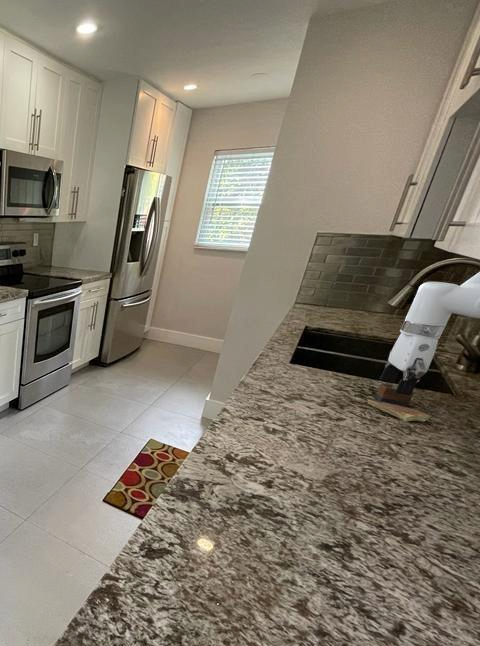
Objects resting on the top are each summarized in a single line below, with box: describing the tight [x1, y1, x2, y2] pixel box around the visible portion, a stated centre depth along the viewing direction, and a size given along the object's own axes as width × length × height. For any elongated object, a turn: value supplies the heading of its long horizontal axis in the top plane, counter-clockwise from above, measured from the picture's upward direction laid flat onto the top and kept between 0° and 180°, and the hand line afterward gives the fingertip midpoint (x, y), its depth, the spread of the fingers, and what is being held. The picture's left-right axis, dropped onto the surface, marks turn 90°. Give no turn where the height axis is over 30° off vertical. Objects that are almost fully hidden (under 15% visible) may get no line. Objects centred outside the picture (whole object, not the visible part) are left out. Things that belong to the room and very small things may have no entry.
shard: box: [366, 398, 431, 423], centre depth 110 cm, size 11×8×2 cm
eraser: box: [375, 383, 415, 408], centre depth 116 cm, size 6×4×4 cm, turn 65°
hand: (394, 387), depth 115 cm, fingers open, 9 cm apart
